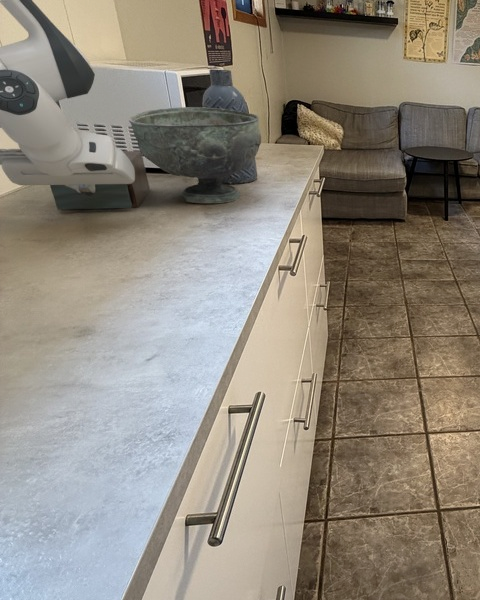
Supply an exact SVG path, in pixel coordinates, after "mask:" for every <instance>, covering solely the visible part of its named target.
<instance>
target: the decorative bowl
mask: <svg viewBox="0 0 480 600" xmlns="http://www.w3.org/2000/svg"><path fill="white" fill-rule="evenodd" d="M259 119H260V117H259V115H257V114H254V113H249V112H248V113H245V112H238V111H235V110H227V109H217V108H206V107H203V106H202V107H201V106H199V107H198V106H189V107H188V106H185V107H183V106H182V107H166V108H158V109H149V110H145V111H143V112H141V113H140V112H137V113H135V114H133V115H131V116H129V117H128V119H127V120H128V122H129V123H130V125H131V129H132V132H133V135H134V137H135V140H136V142H137V147H138V151H141V153H142V157H143V158H145V159H147V160H148V161H150V162H151V163H152V164H154V165H155V166H157V167H158V168H160V169H161V170H162V171H164V172H166V173H168V174H171V175H173V176H179V177H187V178H191V179H194V178H197V180H198V182H197V183H196V184H193V185H189V186H188V187H185V188H184V190H183V192H182V196H183V198H184V200H185V202H187V203H194V204H223V203H230V202H233V201H236V200H239V199H240V196H241V194H240V191H239V190H238V188H236V187H235V186H232V184H228V183H221V182H220V181H219V177H224V176H228V175H231V174H233V173H236V172H238V171H240V170H242V169H243V168H245V167H246V166H247V165H248V164H250V163H251V161H252V160H253V159H254V158H255V159H256V156H257V154H258V152H259V150H260V146H261V144H262V134H261V130H260V127H259Z"/></svg>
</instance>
